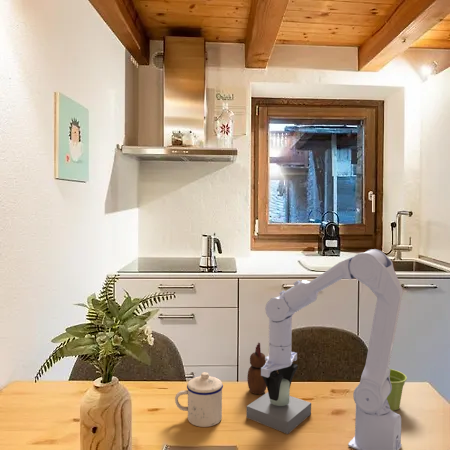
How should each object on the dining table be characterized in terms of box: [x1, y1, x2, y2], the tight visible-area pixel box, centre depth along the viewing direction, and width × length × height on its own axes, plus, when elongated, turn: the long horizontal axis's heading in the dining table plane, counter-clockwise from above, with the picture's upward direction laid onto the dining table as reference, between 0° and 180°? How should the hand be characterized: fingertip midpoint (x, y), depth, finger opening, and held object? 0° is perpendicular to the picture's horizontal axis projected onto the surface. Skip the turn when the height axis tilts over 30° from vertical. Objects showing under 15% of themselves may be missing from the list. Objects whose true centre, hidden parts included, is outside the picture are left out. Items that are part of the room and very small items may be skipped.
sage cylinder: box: [270, 378, 291, 406], centre depth 106 cm, size 5×5×5 cm
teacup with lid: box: [174, 371, 224, 428], centre depth 104 cm, size 12×9×12 cm
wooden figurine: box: [247, 342, 267, 395], centre depth 119 cm, size 7×6×15 cm
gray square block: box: [245, 391, 312, 435], centre depth 106 cm, size 12×12×3 cm
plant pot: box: [387, 368, 408, 412], centre depth 112 cm, size 9×9×9 cm
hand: (279, 395), depth 106 cm, fingers closed on sage cylinder, 5 cm apart
